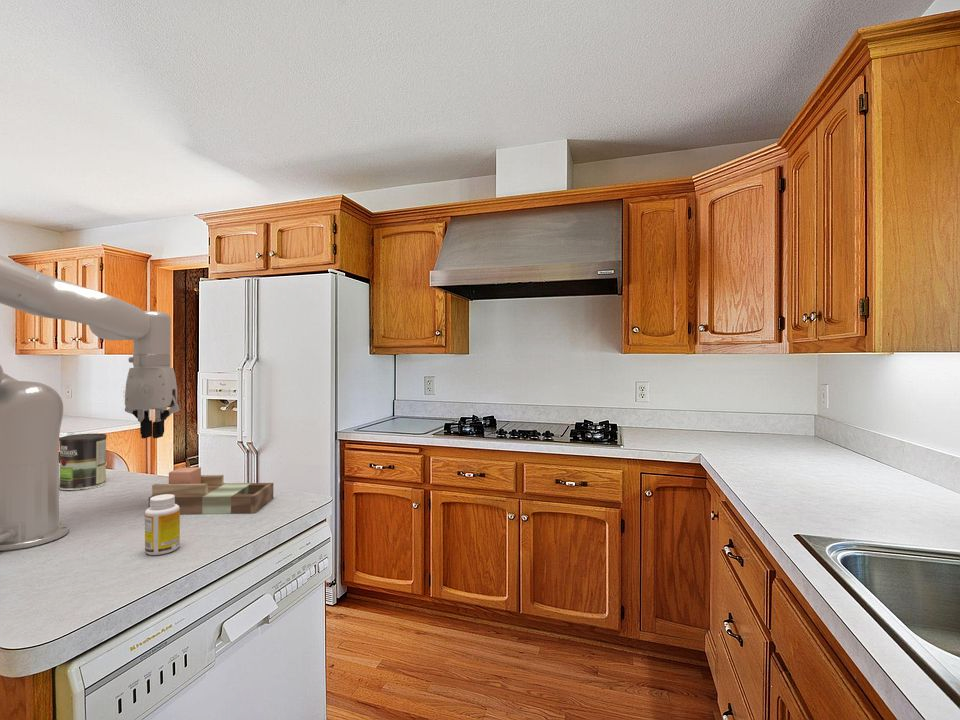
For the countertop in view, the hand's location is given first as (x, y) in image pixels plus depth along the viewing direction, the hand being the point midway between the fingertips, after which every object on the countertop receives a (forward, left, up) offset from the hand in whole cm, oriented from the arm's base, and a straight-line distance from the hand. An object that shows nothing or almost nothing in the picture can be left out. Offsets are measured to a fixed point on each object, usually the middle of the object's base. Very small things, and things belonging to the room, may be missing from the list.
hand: (152, 436), depth 117 cm
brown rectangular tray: (0, -15, -17) cm, 23 cm away
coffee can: (+20, +30, -17) cm, 40 cm away
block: (0, -8, -13) cm, 15 cm away
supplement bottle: (-27, -18, -17) cm, 37 cm away
